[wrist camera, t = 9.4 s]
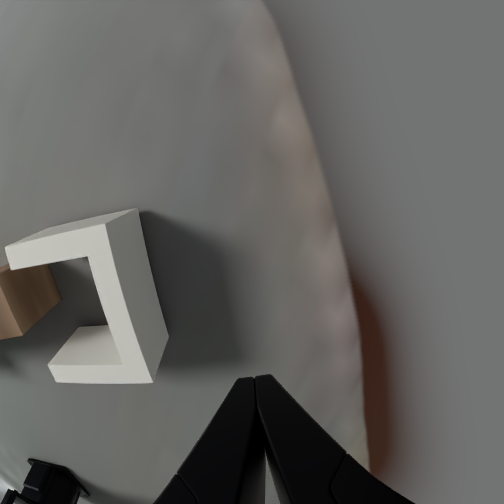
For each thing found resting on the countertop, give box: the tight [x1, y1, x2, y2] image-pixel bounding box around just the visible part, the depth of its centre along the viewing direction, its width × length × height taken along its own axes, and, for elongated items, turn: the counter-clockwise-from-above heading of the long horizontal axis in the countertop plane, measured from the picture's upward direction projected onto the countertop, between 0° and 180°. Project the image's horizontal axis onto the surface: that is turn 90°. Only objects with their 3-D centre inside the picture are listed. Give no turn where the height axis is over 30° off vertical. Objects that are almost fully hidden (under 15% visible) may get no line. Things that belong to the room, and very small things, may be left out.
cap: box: [5, 208, 169, 384], centre depth 15 cm, size 8×6×4 cm
